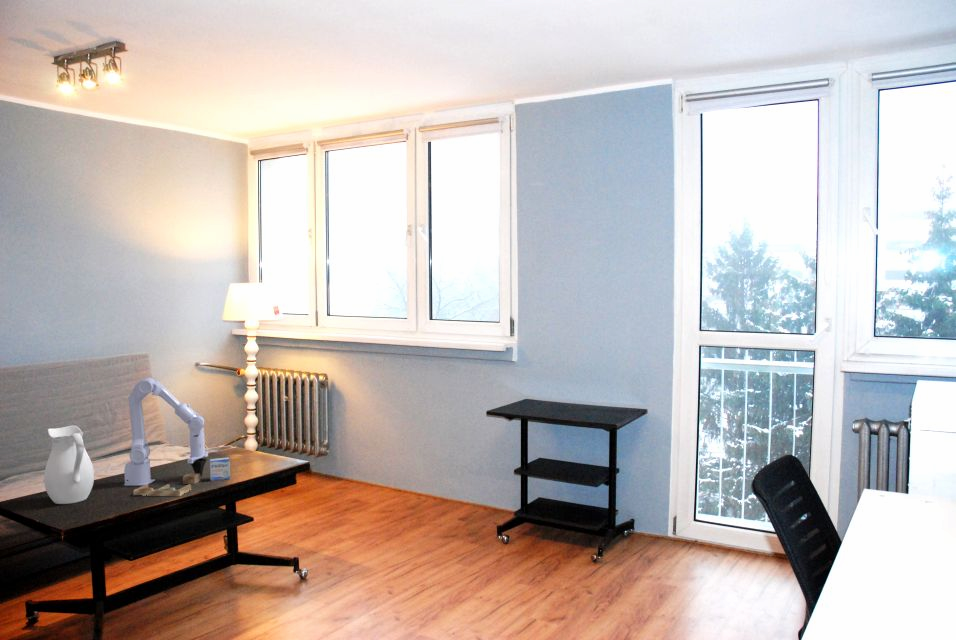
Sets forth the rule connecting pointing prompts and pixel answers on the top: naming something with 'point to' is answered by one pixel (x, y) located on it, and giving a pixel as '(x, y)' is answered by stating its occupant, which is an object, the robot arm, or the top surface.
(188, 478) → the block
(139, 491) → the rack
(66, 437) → the pitcher
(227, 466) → the medicine box
